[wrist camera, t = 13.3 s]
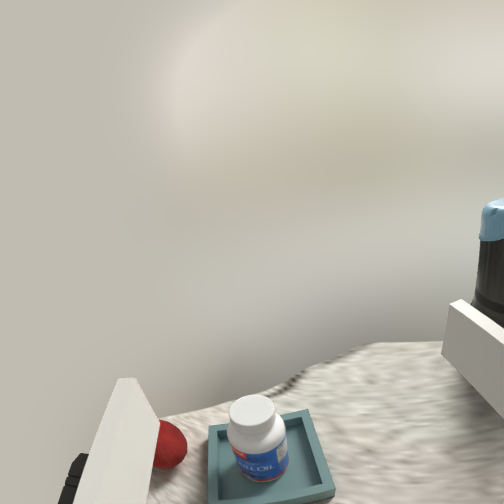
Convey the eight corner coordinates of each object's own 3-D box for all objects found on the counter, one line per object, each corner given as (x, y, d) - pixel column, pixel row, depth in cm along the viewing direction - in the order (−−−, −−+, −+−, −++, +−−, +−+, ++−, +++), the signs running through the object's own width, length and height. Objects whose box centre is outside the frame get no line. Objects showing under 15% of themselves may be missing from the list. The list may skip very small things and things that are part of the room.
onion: (144, 454, 28) (117, 412, 26) (183, 438, 31) (163, 395, 29) (159, 486, 23) (128, 448, 21) (203, 468, 26) (181, 427, 24)
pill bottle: (231, 477, 24) (208, 424, 21) (249, 443, 29) (233, 385, 26) (281, 487, 22) (270, 436, 19) (295, 450, 27) (288, 392, 24)
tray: (308, 419, 32) (307, 409, 31) (334, 496, 20) (335, 488, 19) (212, 435, 31) (208, 425, 30) (213, 515, 19) (207, 508, 19)
